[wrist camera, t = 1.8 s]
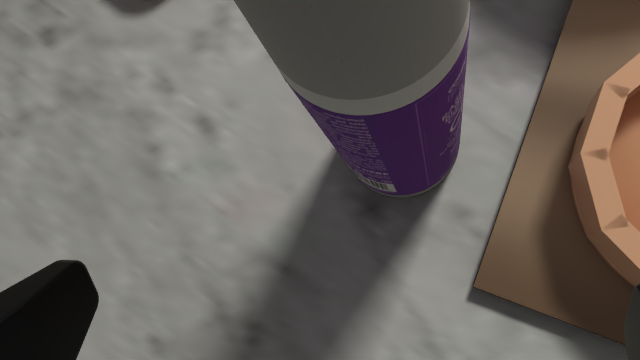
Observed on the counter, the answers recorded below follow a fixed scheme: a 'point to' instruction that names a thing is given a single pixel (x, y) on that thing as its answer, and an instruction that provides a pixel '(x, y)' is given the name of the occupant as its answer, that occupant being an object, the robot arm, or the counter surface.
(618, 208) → the terracotta dish
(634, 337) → the robot arm
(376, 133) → the container
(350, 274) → the counter surface
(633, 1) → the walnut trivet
